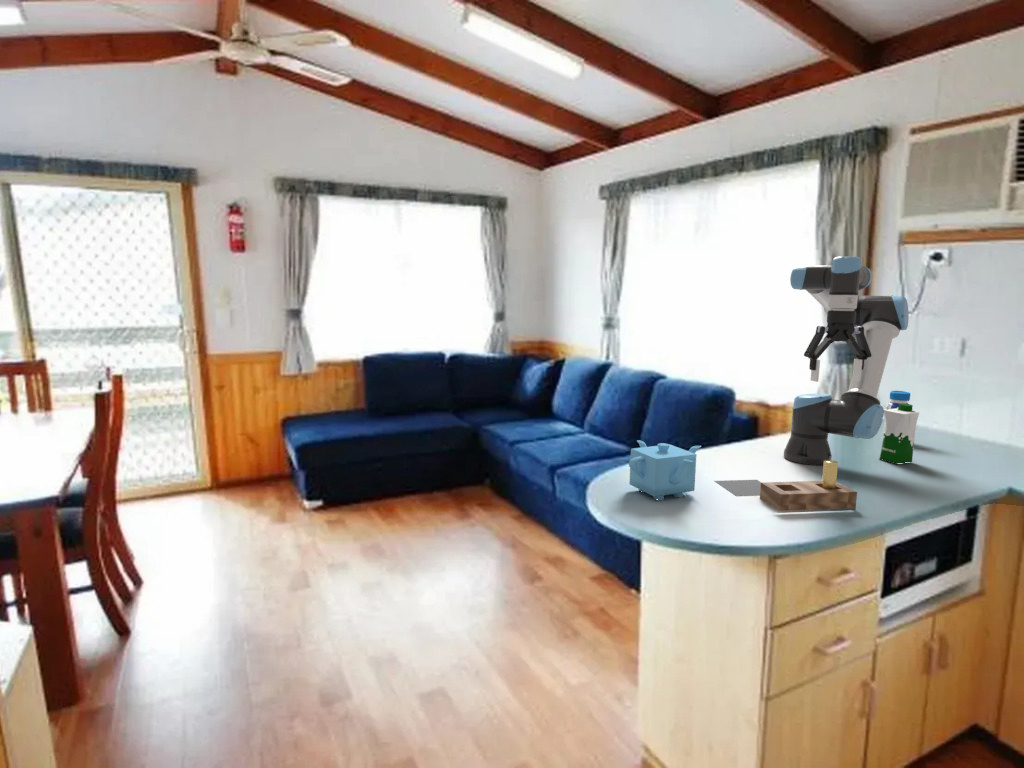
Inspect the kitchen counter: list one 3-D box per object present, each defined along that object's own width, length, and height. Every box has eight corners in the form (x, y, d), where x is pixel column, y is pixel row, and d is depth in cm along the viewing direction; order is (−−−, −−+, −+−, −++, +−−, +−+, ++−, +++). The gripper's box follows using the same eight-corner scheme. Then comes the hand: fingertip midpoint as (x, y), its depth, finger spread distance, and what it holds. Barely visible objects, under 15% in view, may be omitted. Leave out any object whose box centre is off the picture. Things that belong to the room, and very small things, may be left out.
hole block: (831, 497, 174) (833, 480, 173) (855, 509, 164) (857, 491, 163) (759, 499, 171) (760, 482, 170) (779, 512, 161) (780, 494, 160)
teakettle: (623, 499, 170) (625, 448, 168) (635, 480, 187) (637, 433, 185) (693, 508, 163) (696, 455, 161) (698, 487, 181) (701, 439, 178)
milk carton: (916, 463, 210) (923, 406, 207) (898, 465, 206) (905, 408, 203) (891, 456, 218) (898, 402, 215) (874, 459, 214) (880, 403, 211)
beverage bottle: (886, 437, 246) (891, 389, 243) (910, 441, 240) (916, 392, 237) (879, 441, 240) (884, 391, 237) (903, 445, 234) (909, 394, 231)
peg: (828, 501, 170) (832, 460, 168) (836, 505, 167) (840, 463, 165) (817, 501, 170) (820, 460, 168) (824, 506, 166) (829, 464, 164)
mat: (756, 481, 188) (756, 479, 188) (782, 496, 174) (782, 494, 174) (713, 482, 186) (713, 480, 186) (736, 497, 172) (736, 496, 172)
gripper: (810, 310, 174) (804, 383, 177) (889, 310, 177) (882, 382, 180) (795, 309, 181) (789, 379, 185) (871, 309, 184) (864, 378, 188)
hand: (835, 381), depth 183 cm, fingers open, 13 cm apart
